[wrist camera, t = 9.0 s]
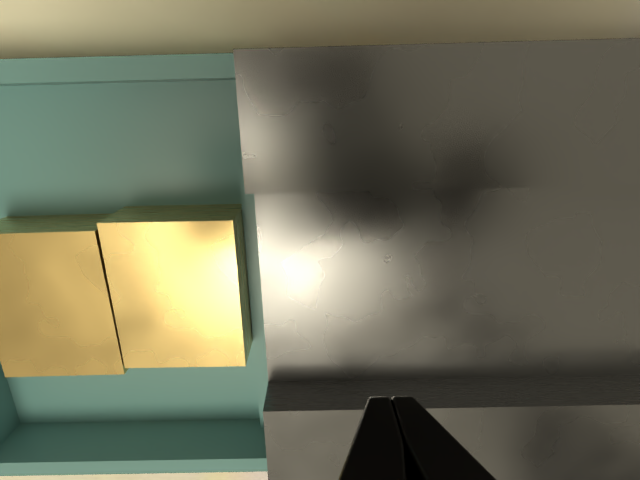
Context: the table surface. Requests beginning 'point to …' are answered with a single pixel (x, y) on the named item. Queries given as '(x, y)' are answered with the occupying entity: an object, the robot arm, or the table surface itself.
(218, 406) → the tray
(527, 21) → the table surface
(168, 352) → the brass chip
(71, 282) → the brass chip
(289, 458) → the slotted plate
